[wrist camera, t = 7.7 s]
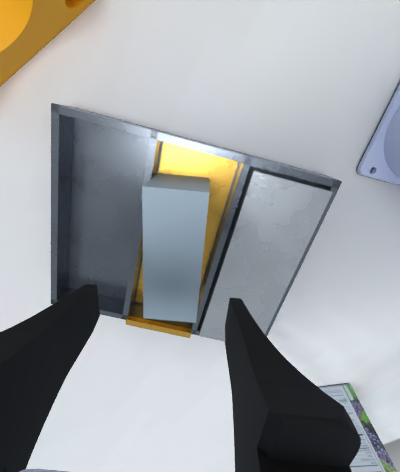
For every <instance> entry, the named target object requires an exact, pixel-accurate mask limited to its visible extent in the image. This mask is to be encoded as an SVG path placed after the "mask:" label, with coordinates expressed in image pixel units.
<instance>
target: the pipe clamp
mask: <svg viewBox="0 0 400 472" xmlns="http://www.w3.org/2000/svg"><path fill="white" fill-rule="evenodd" d="M94 1H95V0H0V86H1V85H2V84H4V83H5V82H6V81H7V80H8V79H9V78H10V77H11V76H12V75H13V74H15V73H16V72H17V71H18V70H19V69H20V68H21V67H22V66H23V65H25V64H26V63H27V62H28V61H29V60H30V59H31V58H32V57H33V56H34V55H36V54H37V53H38V52H39V51H40V50H41V49H42V48H43V47H44V46H45V45H47V44H48V43H49V42H50V41H51V40H52V39H53V38H54V37H55V36H57V35H58V34H59V33H60V32H61V31H62V30H63V29H64V28H65V27H66V26H68V25H69V24H70V23H71V22H72V21H73V20H74V19H75V18H76V17H78V16H79V15H80V14H81V13H82V12H83V11H84V10H85V9H86V8H87V7H89V6H90V5H91V4H92V3H93V2H94Z"/></svg>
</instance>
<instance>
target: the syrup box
mask: <svg viewBox="0 0 400 472" xmlns="http://www.w3.org/2000/svg"><path fill="white" fill-rule="evenodd" d="M319 389H321V390H322V391H323V392H325V393H326V394H327V395H329V396H330V397H332V398H333V399H334V400H336V401H337V402H339V403H340V404H341V405H343V406H344V408H345V409H346V411H347V413H348V414H349V416H350V418H351V420H352V422H353V424H354V425H355V428H356V430H357V432H358V434H359V436H360V438H361V446H360V448H359V451H358V453H357V455H356V456H355V458H354V459H353V461H352V462H351V464H350V468H351V471H352V472H397V470H396V469H395V467H394V465H393V463H392V461H391V459H390V457H389V455H388V453H387V452H386V450H385V448H384V446H383V444H382V442H381V441H380V439H379V437H378V435H377V433H376V431H375V430H374V428H373V426H372V424H371V422H370V420H369V418H368V417H367V415H366V413H365V411H364V409H363V407H362V406H361V404H360V402H359V400H358V398H357V396H356V394H355V393H354V391H353V389H352V387H351V385H349V384H342V385H335V386H326V387H319Z"/></svg>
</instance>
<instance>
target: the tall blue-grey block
mask: <svg viewBox="0 0 400 472" xmlns="http://www.w3.org/2000/svg"><path fill="white" fill-rule="evenodd" d="M209 194H210V187H209V178H206V177H195V176H185V175H174V174H163V173H158V174H157V175H155V176H154V177H153V178H152V179H150V180H149V181H148V182H147V183H146V184H144V185H143V186H142V222H143V318H148V319H159V320H170V321H181V322H192V323H196V319H197V310H198V300H199V290H200V281H201V271H202V261H203V252H204V242H205V232H206V223H207V213H208V203H209Z"/></svg>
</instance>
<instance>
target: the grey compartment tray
mask: <svg viewBox="0 0 400 472" xmlns="http://www.w3.org/2000/svg"><path fill="white" fill-rule="evenodd" d="M158 173H163V174H174V175H185V176H195V177H206V178H209V187H210V194H209V203H208V213H207V223H206V232H205V242H204V252H203V261H202V271H201V281H200V290H199V300H198V310H197V319H196V323H192V322H181V321H170V320H159V319H148V318H143V222H142V186H143V185H144V184H146V183H147V182H148V181H149V180H150V179H152V178H153V177H154V176H155V175H157V174H158ZM340 185H341V181H339V180H336V179H333V178H331V177H328V176H325V175H322V174H318V173H314V172H311V171H307V170H303V169H300V168H296V167H292V166H288V165H285V164H281V163H277V162H274V161H270V160H266V159H263V158H259V157H255V156H252V155H248V154H244V153H240V152H237V151H233V150H229V149H226V148H222V147H218V146H215V145H211V144H207V143H204V142H200V141H196V140H192V139H189V138H185V137H181V136H178V135H174V134H170V133H167V132H163V131H159V130H156V129H152V128H148V127H144V126H141V125H137V124H133V123H130V122H126V121H122V120H119V119H115V118H111V117H108V116H104V115H100V114H96V113H93V112H89V111H85V110H82V109H78V108H74V107H70V106H64V105H59V104H53V103H51V304H55V303H56V302H58V301H59V300H61V299H63V298H64V297H66V296H67V295H69V294H70V293H72V292H74V291H75V290H77V289H78V288H80V287H81V286H83V285H85V284H91V285H97V290H98V300H99V310H100V314H102V315H106V316H111V317H116V318H120V319H125V320H126V325H131V326H136V327H140V328H145V329H150V330H154V331H159V332H164V333H169V334H173V335H178V336H183V337H187V338H190V336H191V334H195V335H199V336H202V337H207V338H212V339H216V340H221V341H225V322H226V317H227V311H228V305H229V299H230V298H241V299H242V300H243V302H244V304H245V306H246V307H247V309H248V311H249V312H250V314H251V315H252V317H253V318H254V320H255V321H256V323H257V324H258V326H259V327H260V329H261V330H262V331H263V333H264V334H265V335H266V337H267V335H268V333H269V331H270V329H271V327H272V324H273V322H274V320H275V318H276V316H277V314H278V312H279V310H280V308H281V306H282V304H283V302H284V300H285V298H286V296H287V294H288V292H289V289H290V287H291V285H292V283H293V281H294V279H295V277H296V275H297V273H298V271H299V269H300V267H301V265H302V263H303V261H304V259H305V257H306V255H307V252H308V250H309V248H310V246H311V244H312V242H313V240H314V238H315V236H316V234H317V232H318V230H319V228H320V226H321V224H322V222H323V220H324V217H325V215H326V213H327V211H328V209H329V207H330V205H331V203H332V201H333V199H334V197H335V195H336V193H337V191H338V189H339V187H340Z"/></svg>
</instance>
